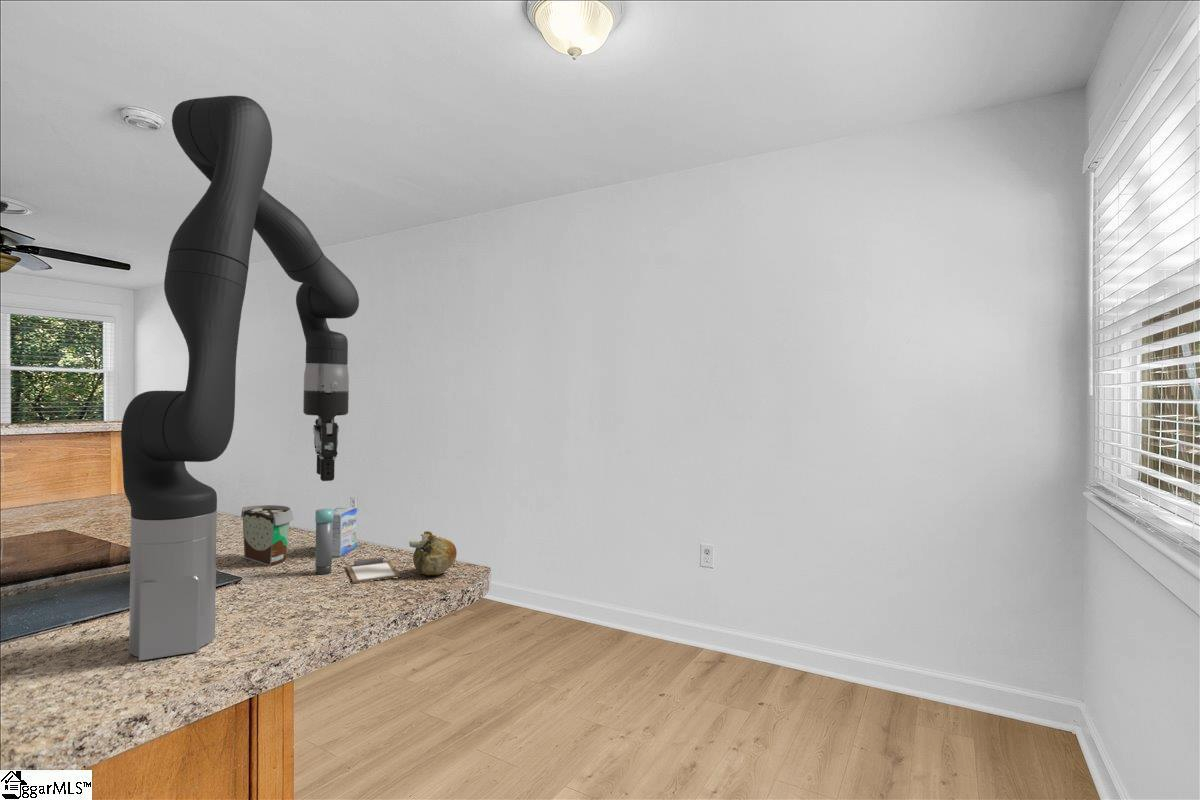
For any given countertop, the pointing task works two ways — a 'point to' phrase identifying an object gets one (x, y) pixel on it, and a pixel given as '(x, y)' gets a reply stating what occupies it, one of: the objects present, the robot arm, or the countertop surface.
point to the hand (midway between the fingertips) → (325, 477)
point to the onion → (433, 554)
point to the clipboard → (371, 570)
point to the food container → (266, 533)
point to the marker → (323, 541)
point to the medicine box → (344, 530)
